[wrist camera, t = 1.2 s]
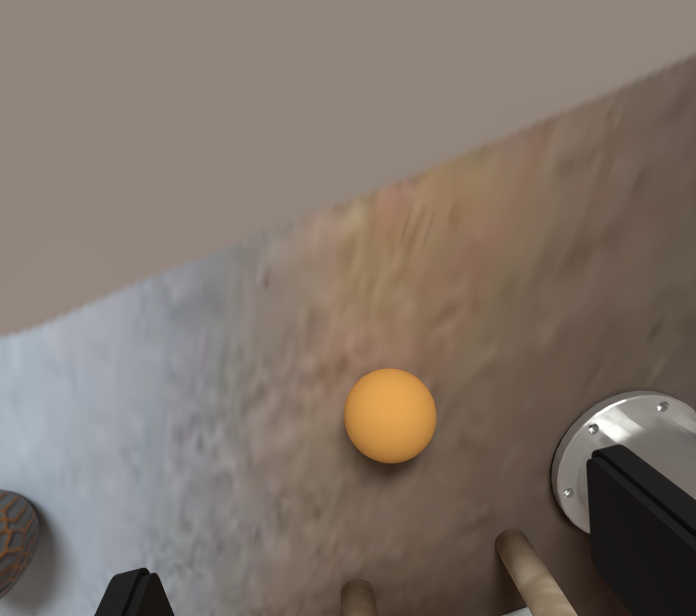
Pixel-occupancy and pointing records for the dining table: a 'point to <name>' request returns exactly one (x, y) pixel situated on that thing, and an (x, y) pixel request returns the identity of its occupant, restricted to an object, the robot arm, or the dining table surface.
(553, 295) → the dining table surface
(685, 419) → the robot arm
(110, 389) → the dining table surface
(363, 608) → the post
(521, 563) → the post
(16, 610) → the dining table surface
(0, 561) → the vase
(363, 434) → the ball
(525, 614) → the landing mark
